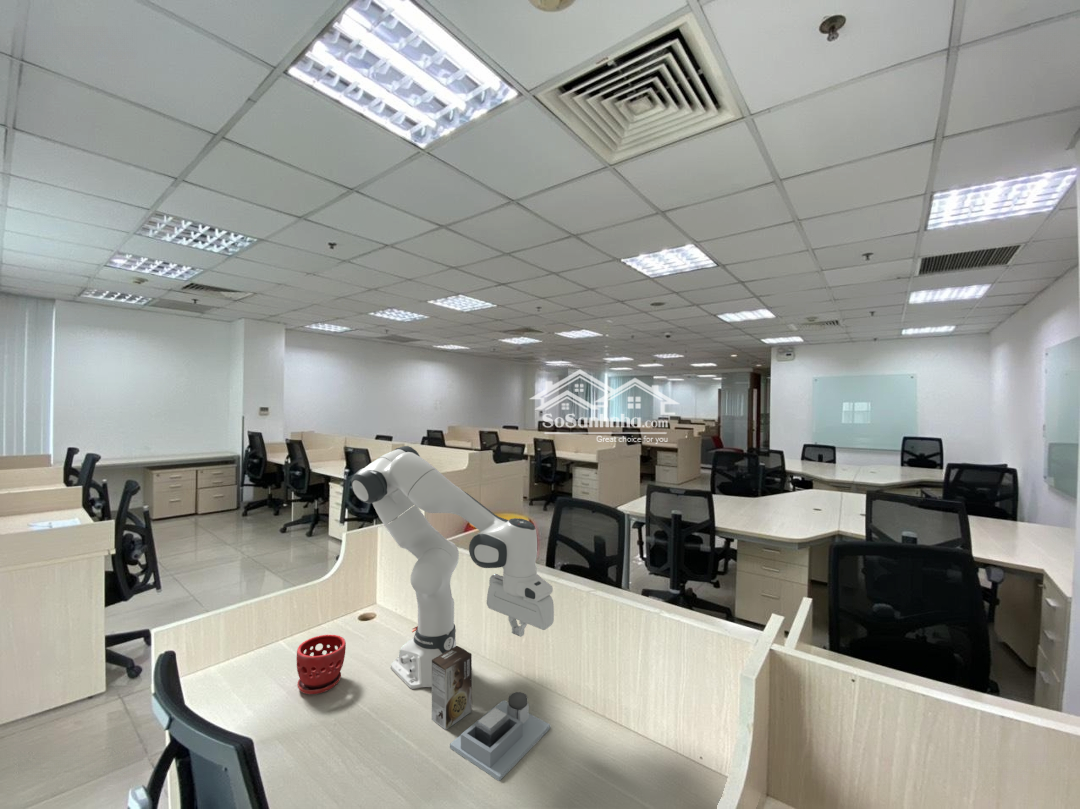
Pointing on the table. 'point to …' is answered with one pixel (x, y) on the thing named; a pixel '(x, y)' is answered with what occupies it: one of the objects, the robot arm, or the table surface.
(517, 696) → the dark grey round knob
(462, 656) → the coffee box
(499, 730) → the grey rectangular block
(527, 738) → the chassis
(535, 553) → the robot arm
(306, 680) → the plant pot
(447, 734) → the table surface
